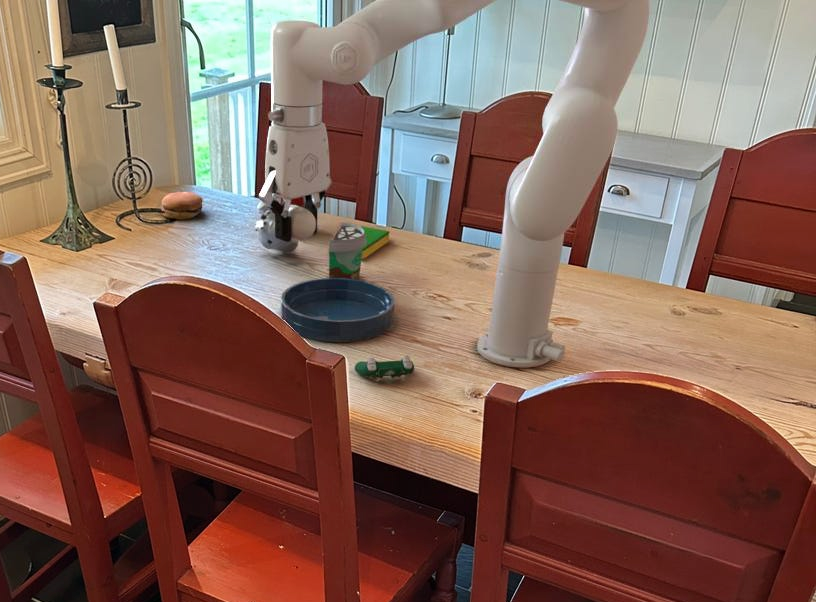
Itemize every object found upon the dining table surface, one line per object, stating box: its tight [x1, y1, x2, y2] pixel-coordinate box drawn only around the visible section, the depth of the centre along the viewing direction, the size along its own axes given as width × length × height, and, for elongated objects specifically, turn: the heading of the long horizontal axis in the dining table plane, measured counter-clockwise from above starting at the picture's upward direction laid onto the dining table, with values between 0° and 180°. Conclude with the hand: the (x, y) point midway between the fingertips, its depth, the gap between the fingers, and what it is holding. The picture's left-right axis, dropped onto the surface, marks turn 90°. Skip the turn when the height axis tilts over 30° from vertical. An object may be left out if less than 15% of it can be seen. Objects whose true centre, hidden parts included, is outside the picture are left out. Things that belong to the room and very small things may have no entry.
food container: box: [328, 221, 367, 280], centre depth 165 cm, size 12×6×10 cm, turn 168°
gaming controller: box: [354, 354, 415, 382], centre depth 133 cm, size 9×4×6 cm
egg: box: [288, 205, 316, 241], centre depth 135 cm, size 7×5×5 cm
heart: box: [254, 201, 299, 254], centre depth 176 cm, size 10×10×12 cm
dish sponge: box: [360, 225, 390, 260], centre depth 184 cm, size 7×14×2 cm, turn 153°
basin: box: [280, 277, 396, 343], centre depth 151 cm, size 20×20×4 cm
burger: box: [160, 190, 204, 221], centre depth 200 cm, size 10×9×5 cm
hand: (296, 234), depth 137 cm, fingers closed on egg, 5 cm apart
